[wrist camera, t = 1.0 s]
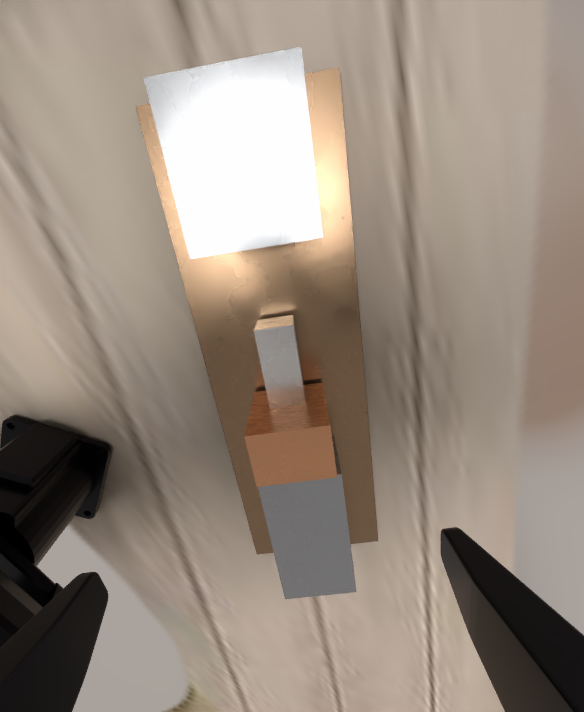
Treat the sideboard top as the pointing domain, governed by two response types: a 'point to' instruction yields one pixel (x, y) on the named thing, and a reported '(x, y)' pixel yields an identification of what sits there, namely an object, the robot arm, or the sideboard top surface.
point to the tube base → (271, 280)
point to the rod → (287, 413)
